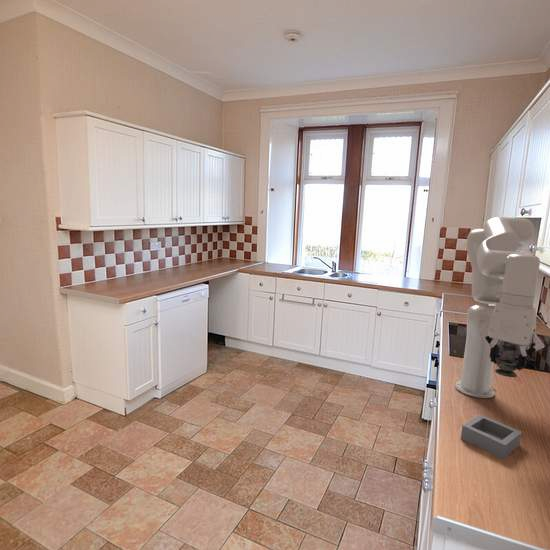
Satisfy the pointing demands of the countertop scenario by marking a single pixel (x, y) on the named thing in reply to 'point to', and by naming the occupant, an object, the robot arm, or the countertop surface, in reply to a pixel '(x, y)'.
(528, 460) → the countertop surface
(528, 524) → the countertop surface
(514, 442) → the holder
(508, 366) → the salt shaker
